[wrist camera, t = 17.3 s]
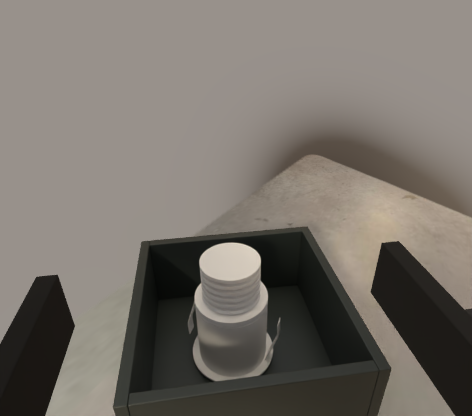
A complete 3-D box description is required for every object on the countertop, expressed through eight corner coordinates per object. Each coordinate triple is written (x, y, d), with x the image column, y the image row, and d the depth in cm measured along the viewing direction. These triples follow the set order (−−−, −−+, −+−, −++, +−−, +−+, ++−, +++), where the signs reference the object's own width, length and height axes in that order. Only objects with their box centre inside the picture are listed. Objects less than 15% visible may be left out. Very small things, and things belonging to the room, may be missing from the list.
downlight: (285, 331, 33) (292, 243, 28) (267, 400, 27) (271, 304, 22) (206, 312, 35) (199, 227, 30) (174, 372, 29) (159, 279, 25)
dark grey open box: (134, 477, 23) (112, 408, 20) (152, 301, 38) (141, 241, 34) (370, 439, 25) (391, 368, 22) (301, 284, 40) (307, 226, 36)
